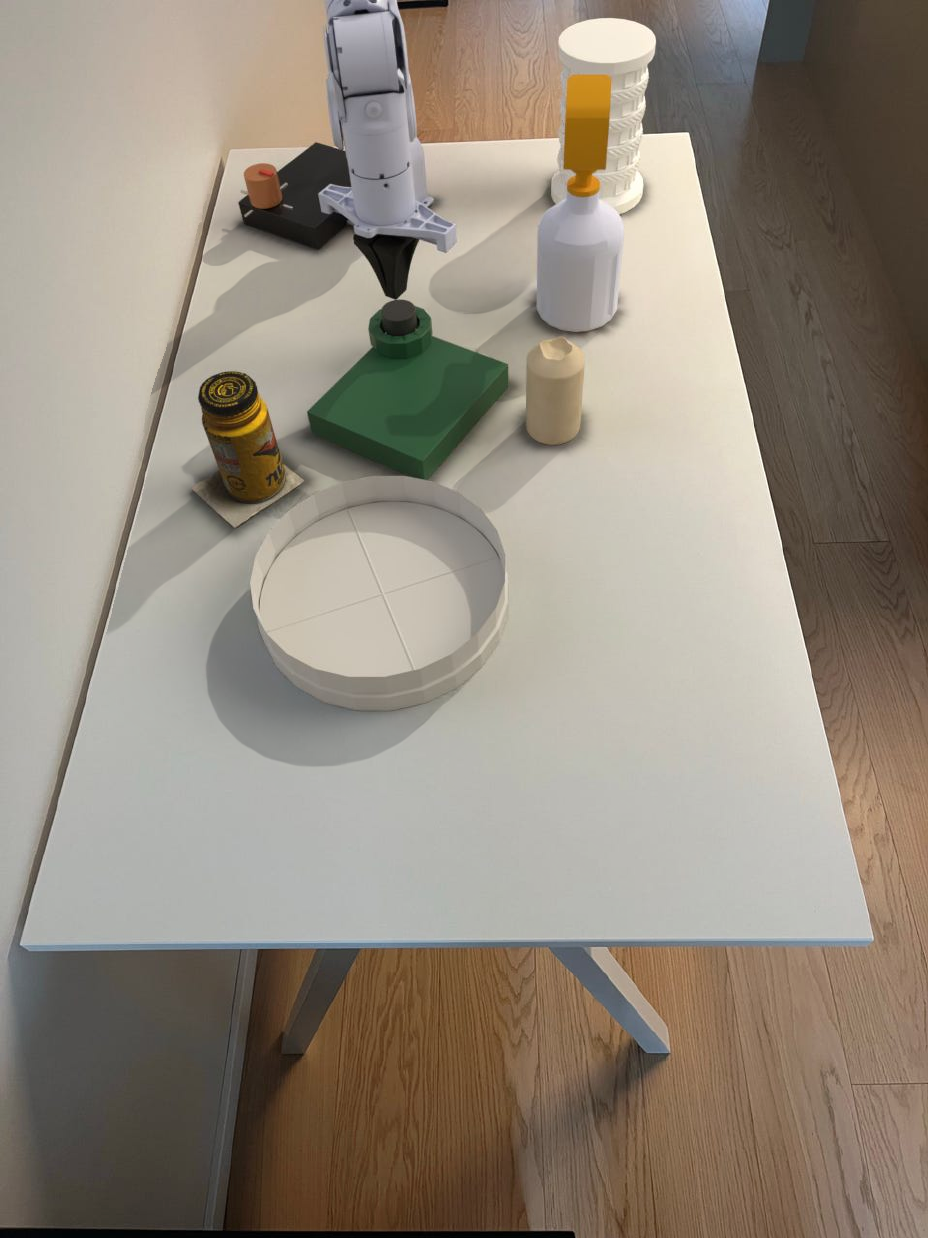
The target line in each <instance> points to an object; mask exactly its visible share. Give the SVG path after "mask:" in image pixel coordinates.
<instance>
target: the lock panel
mask: <svg viewBox="0 0 928 1238" xmlns="http://www.w3.org/2000/svg"><path fill="white" fill-rule="evenodd" d="M277 174H278V179H279V184H280V188H281V193H282V201H281V202H280V203H279V204H278V205H276V206H274V207H272V208H267V209H260V208H256V207H254V206H252V205H251V203H250V199H249V195H248V191H246V190H243V189H241V190H240V191H239V192H240V193H241V194H244V195H245V196H244V197H243V198H241V199H240V200H238V202H237V204H238V207H239V211H240V214H241V215H240V216H241V219H242V222H243V225H246V226H249V227H251V228H255V229H257V230H260V231H263V232H265V233H268V234H271V235H275V236H277V237H280V238H283V239H285V240H288V241H291V242H294V243H297V244H300V245H302V246H305V247H309V248H311V249H314V250H317V251H319V250H320V249H322V247H324V246H325V245H326V244H327V243H328V242H330V241H331V240H332V239H333V238H335V236H336V235H338V234H339V233H340V232H341V231H342V230H344V229H345V228H346V227H347V226H348V225H349V224H347V220H348V218H346V217H345V216H344V215H342V214H341V213H338V212H335V211H333V213H331V214H327V213H324V212H321V206H320V201H319V195H318V194H319V193H320V192H321V191H322V190H323V189H325V188H326V187H327V186H328V185H329V184H333V185H336V186H342V187H351V181H350V174H349V167H348V161H347V158H346V152H345V149H344V150H339V149H338V148H337V147H334V146H330V145H327V144H324V143H320V142H317V141H316V142H313V144H311V145H310V146H309V147H307V148H306V149H305V150H304V151H302V152H301V153H299V154H298V155H297V156H296V157H295V158H293V159H292V160H291V161H289V162H288V163H287V164H286V165H284V166H283V167H281V168H280V169H279V170H277ZM351 188H352V187H351Z"/></svg>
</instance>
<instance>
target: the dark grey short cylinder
mask: <svg viewBox="0 0 928 1238" xmlns="http://www.w3.org/2000/svg"><path fill="white" fill-rule="evenodd" d="M415 306H416V305H415V304H414V303H413V302H412V301H409V300H407V299H400V298H398V299H396V300H395V299H392V300H390V301H388V302H386V303H385V304H384V305H382V307H381V308H380V309H381V317H382V324H383V329H384V331H385V333H386V334H388V335H391V336H405V335H408V334H410V333H413V332H414V331H415V330H416V328H417V318H416V309H415Z"/></svg>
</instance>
